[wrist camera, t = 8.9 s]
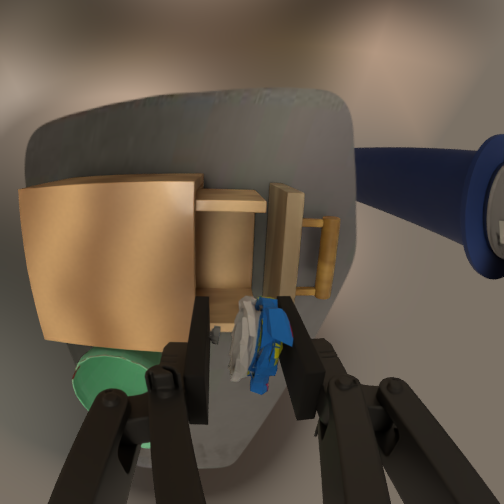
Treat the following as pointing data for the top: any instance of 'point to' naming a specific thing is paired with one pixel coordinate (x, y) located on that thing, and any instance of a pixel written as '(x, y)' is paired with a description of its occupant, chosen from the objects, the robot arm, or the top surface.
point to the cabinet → (113, 258)
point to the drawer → (241, 248)
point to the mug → (112, 373)
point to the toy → (256, 341)
